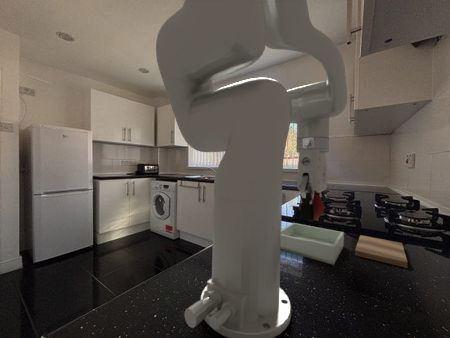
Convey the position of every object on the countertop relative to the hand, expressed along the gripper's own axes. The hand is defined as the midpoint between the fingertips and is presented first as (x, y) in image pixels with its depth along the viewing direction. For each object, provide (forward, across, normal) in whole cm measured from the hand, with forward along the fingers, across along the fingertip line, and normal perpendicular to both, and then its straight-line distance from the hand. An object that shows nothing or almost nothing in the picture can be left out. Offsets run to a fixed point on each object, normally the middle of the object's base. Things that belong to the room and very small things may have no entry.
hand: (310, 216), depth 51 cm
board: (+8, +9, -14) cm, 18 cm away
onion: (+1, 0, 0) cm, 1 cm away
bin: (+8, 0, 0) cm, 8 cm away
